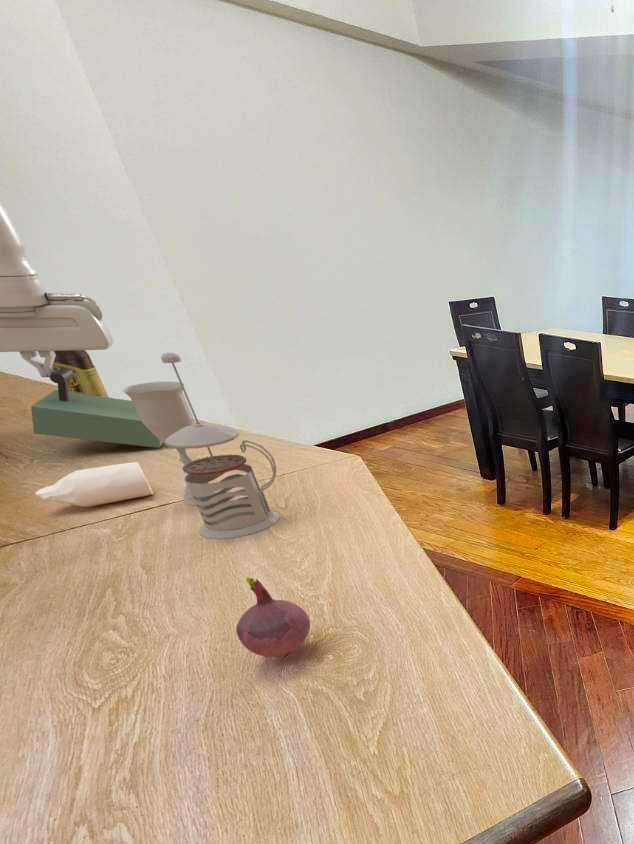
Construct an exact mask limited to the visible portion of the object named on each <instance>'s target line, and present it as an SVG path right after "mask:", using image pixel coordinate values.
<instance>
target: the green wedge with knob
mask: <svg viewBox="0 0 634 844" xmlns="http://www.w3.org/2000/svg"><path fill="white" fill-rule="evenodd" d="M73 375H74V373H73V371H72V370H70V369H69V368H61V369H59V370H58V371H56V372H54V373H53V374H51V375H50V377H49V380H50V381H51V382H52V383H54V384H57V389H55V390H53V391H52V392H50V393H49V394H47V395H45V396H44V397H43V398H41V399H40V400H38V401H37V402H35V403H34V404H32V405H31V406H30V409H31V419H32V428H33V429H32V430H33V434H34V435H43V436H53V437H60V438H67V439H76V440H78V439H79V440H86V441H96V442H102V443H112V444H121V445H129V446H137V447H138V446H140V447H148V448H157V449H160V448H161V446H162V445H163V444H164V443H163V442H162V441H161V440H160V439H158V438H157V437H156V436H155V435H154V434H152V432H151V431H150V430H149V429H148V428H147V427H146V426H145V425H144V424H143V423H142V421H141V419H140V417H139V415H138V412H137V410H136V408H135V406H134V404H133V402H132V400H128V399H122V398H114V397H109V396H108V397H102V396H95V395H88V394H81V393H74V392H68V384H67V380H68V379H69V378H71V377H72V376H73Z"/></svg>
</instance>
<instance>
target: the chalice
mask: <svg viewBox="0 0 634 844" xmlns="http://www.w3.org/2000/svg"><path fill="white" fill-rule="evenodd" d="M182 384H183V386H184V385H185V384H184V383H183V382H182ZM184 387H185V386H184ZM122 392H123V393H124V394H125V395H126V396H128V397H129V398H130V399H131V400H130V401H132V402H133V404H134V406H135V408H136V410H137V412H138V415H139V417H140V419H141V421H142V423H143V424H144V425H145V426H146V427H147V428H148V429H149V430H150V431H151V432H152V434H154V435H155V436H156V437H157V438H158V439H160V440H161V441H162V442H163V443H162V444H164V445H165V446H166V447H167V448H170V449H174V448H173V447H171V446H169V445H167V444H166V443H165V442H166V439H167V438H168V437H169V436H171V435H172V434H174V433H175V432H177V431H178V430H180V429H182V428H184V427H186V426H191V425H194V415H193V413H192V410H191V408H190V406H189V403H188V401H187V398H186V396H185V394H184V391H183V389H182V387H181V384H180V382H179V381H152V382H151V381H150V382H144V383H138V384H133V385H129V386H127V387H125V388H122ZM175 449H176V450H177V452H178V453H179V462H181V463H182V464H183V466H185V465H186V464H187V463H188V462H190V463H191V462H192V461H193V457H191V456H190V455H189V453H188V452H187V449H181V448H175ZM183 473H185V474H186V475H188V474H189V473H187V472H185V471H183ZM219 491H220V490H218V491H215V492H213V493H211V494H209V495H207V496H210V495H213V494H215V493H217V492H219ZM183 492H184V494H183V502H182V503H183V504H184V505H187V506H196V504H195V501H194V499H193V497H192V495H191V493H190V490H189V488H188V486H187V485H186V486H185V488H184V489H183Z"/></svg>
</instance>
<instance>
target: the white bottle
mask: <svg viewBox="0 0 634 844" xmlns="http://www.w3.org/2000/svg"><path fill="white" fill-rule="evenodd" d="M34 495H35V496H36V497H39V498H41V499H42V500H44V501H50V502H58V503H62V504H68V505H71V506H72V505H73V506H77V507H85V508H87V507H96V506H100V505H106V504H110V503H116V502H121V501H127V500H132V499H136V498H141V497H142V498H143V497H146V496H152V495H154V492H153V490H152V488H151V486H150V483H149V481H148V479H147V478H146V476H145V474H144V472H143V470H142V468H141V466H140V463H139V462H138V461H134V462H128V463H127V462H126V463H117V464H111V465H105V466H97V467H91V468H90V467H89V468H84V469H78V470H75V471H73V472H70V473H69V474H67V475H65V476H63V477H62V478H61V479H59V480H58V481H56V482H55V483H54V484H52V485H47V486H45V487H42V488H40V489H38V490H37V491H35V493H34Z"/></svg>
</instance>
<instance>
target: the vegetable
mask: <svg viewBox="0 0 634 844" xmlns="http://www.w3.org/2000/svg"><path fill="white" fill-rule="evenodd" d="M245 581H246V583H247V584H248V585H249V587H250V590H251V591H252V592H253V593H254V595H255V597H256V598H255V599H256V603H255V604H254V605H252V606H251V607H249V608H248V609H246V611H245V612H244V613H243V614H242V615H241V617H240V618H239V620H238V621H237V624H236V630H235V631H236V635H237V639H238V640H239V642H240V644H242V645H243V647H244V648H245V649H246V650H248V651H249V652H251V653H253V654H255V655H257V656H261V657H264V658H282V657H283V658H286V657H289V656H290V655H291V654H292V653H293V652H294V651H295V650H297V649H298V648H299V647H301V646H302V645H303V644H304V642H305V641H306V640H307V638H308V636H309V633H310V630H311V620H310V617H309V615H308V613H307V612H306V610H304V609H303V608H302V607H301V606H300V605H299V604H296V603H294V602H291V601H289V600H283V599H274V598H273V597H272V595H271V594H270V593H269V591H268V590H267V589H266V587H265V586H264V584H262V583H261V582H260V580H259V579H258V578H255V580H254V578H252V577H246V578H245Z"/></svg>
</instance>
